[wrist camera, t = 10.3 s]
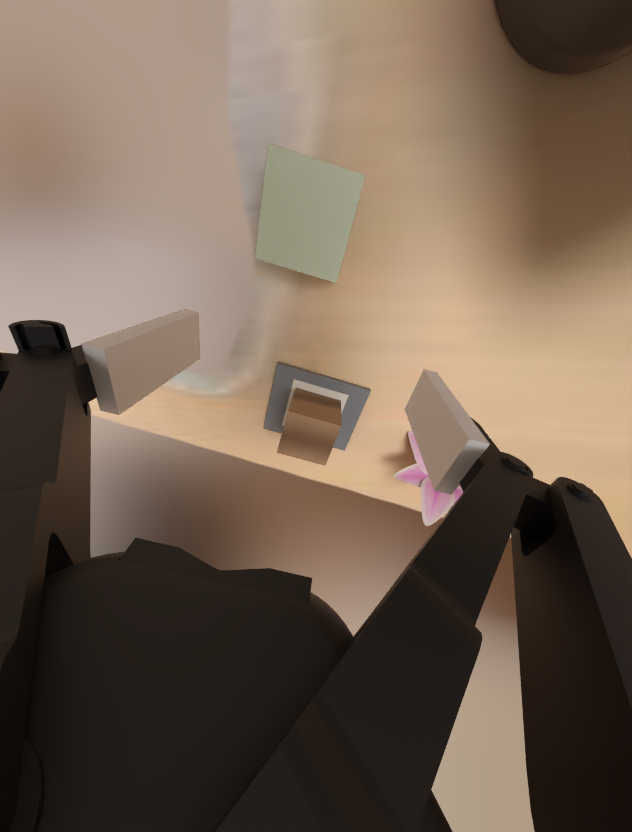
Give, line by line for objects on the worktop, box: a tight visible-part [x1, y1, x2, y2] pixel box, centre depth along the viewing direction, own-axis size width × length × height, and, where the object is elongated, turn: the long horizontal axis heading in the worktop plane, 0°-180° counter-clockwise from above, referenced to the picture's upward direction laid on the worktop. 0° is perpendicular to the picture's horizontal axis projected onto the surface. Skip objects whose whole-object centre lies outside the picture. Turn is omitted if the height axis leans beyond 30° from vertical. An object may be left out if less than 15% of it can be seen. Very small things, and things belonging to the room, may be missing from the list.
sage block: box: [255, 143, 365, 283], centre depth 22 cm, size 7×7×6 cm
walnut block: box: [277, 388, 341, 465], centre depth 32 cm, size 6×6×6 cm
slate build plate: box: [264, 362, 371, 450], centre depth 35 cm, size 10×12×1 cm
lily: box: [393, 431, 463, 526], centre depth 35 cm, size 12×12×10 cm
